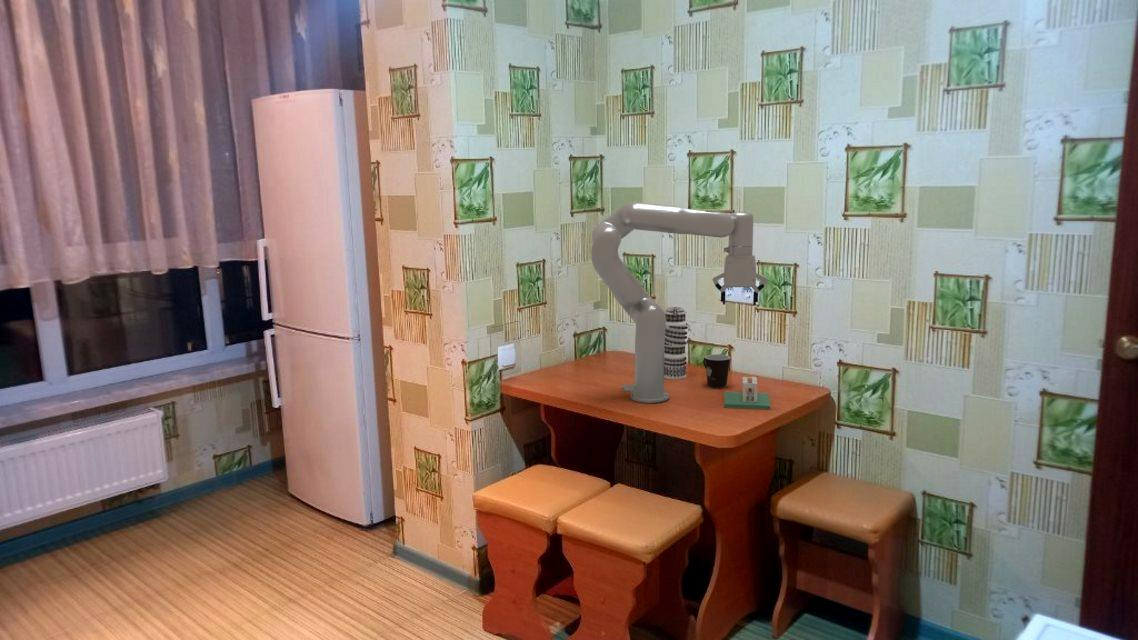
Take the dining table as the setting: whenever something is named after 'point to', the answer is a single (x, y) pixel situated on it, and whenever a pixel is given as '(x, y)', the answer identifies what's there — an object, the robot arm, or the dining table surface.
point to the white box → (750, 383)
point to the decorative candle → (675, 343)
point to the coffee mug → (717, 370)
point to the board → (737, 400)
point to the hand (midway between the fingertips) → (739, 304)
